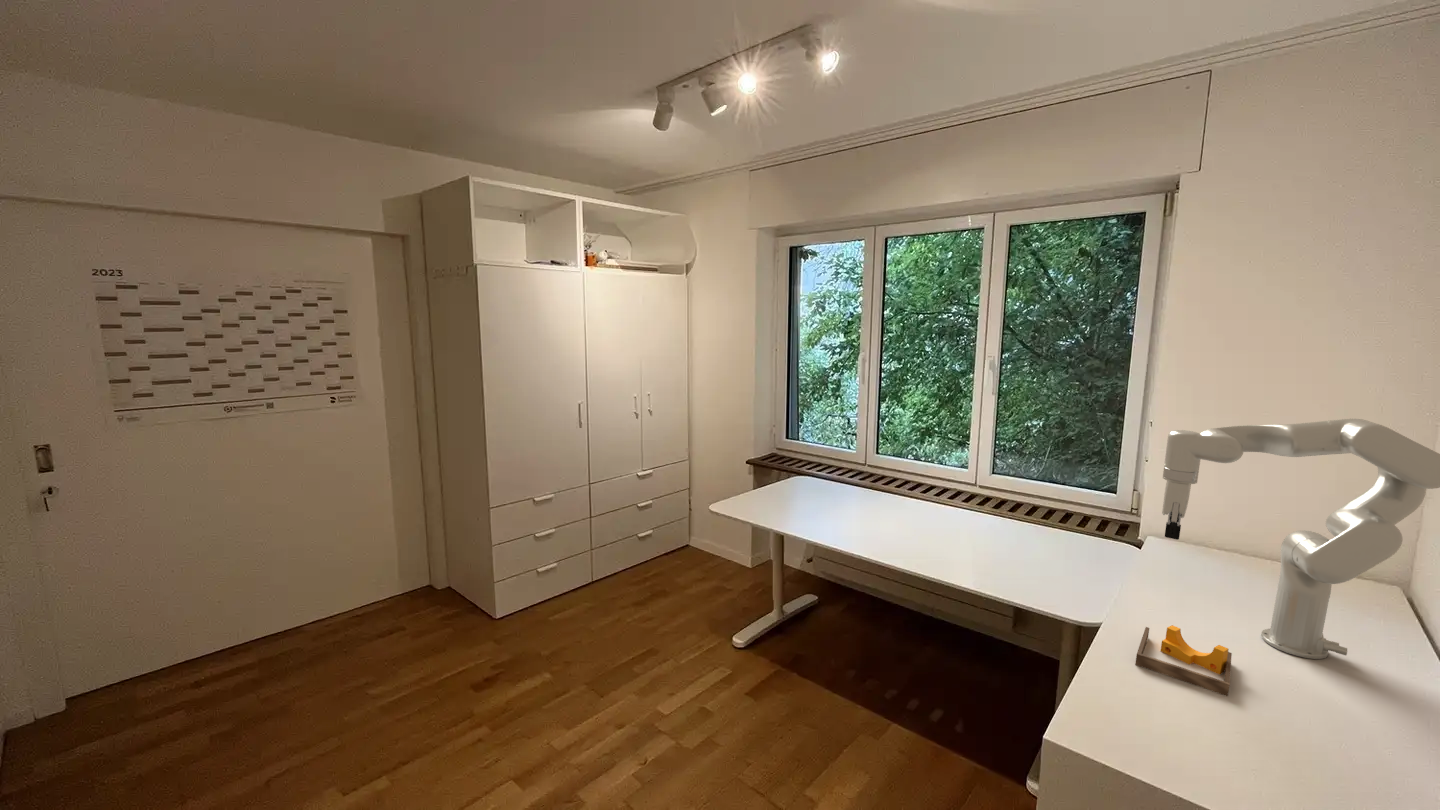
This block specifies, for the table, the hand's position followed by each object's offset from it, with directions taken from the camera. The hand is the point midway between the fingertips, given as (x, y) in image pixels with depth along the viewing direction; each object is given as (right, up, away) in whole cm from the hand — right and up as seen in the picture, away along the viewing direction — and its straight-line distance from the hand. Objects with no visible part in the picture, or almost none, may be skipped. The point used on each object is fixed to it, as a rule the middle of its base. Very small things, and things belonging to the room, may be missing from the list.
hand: (1171, 537), depth 160 cm
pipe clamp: (-7, -29, -15) cm, 33 cm away
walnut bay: (-10, -28, -16) cm, 34 cm away
